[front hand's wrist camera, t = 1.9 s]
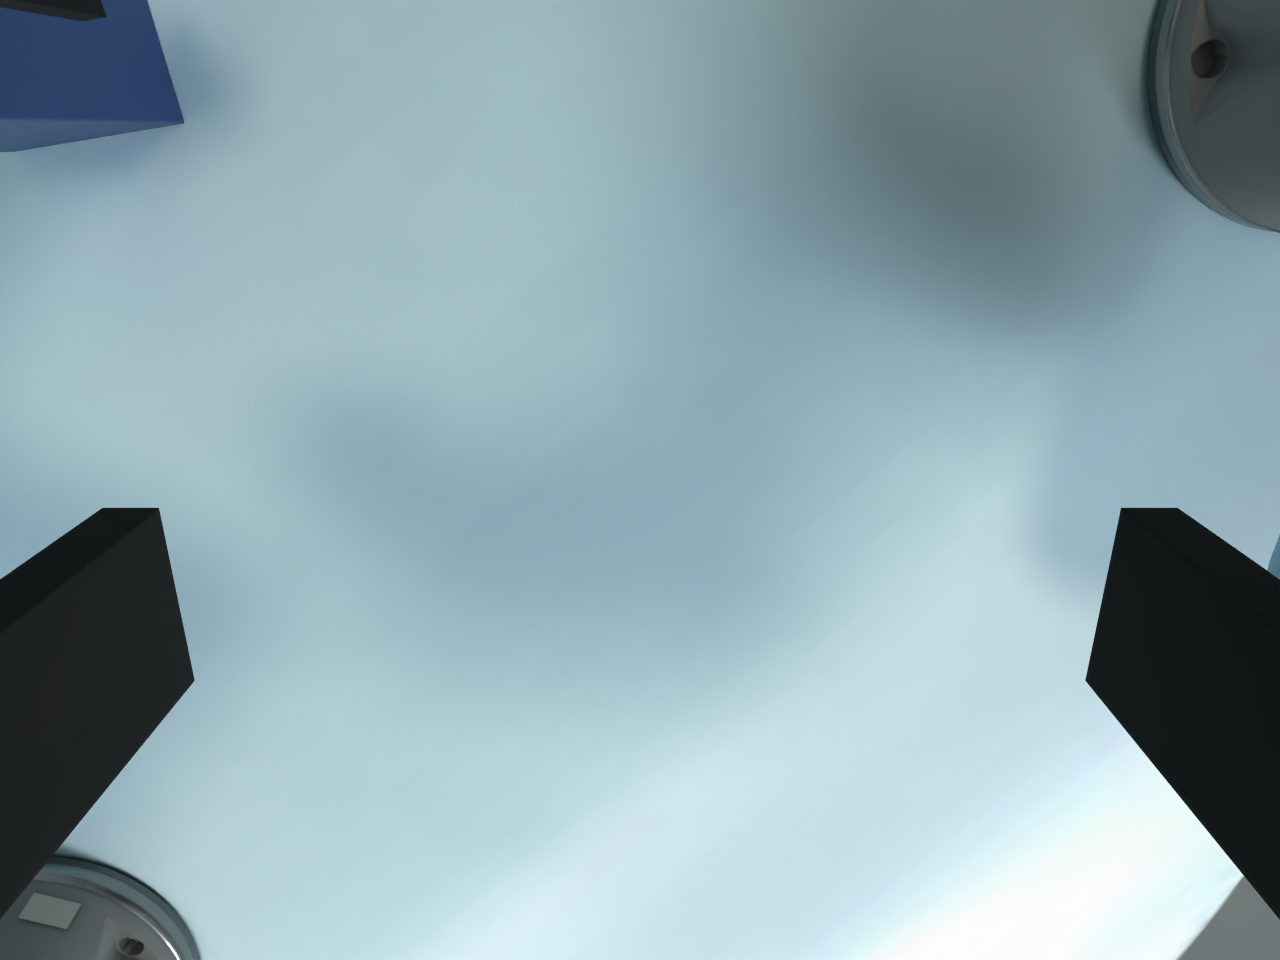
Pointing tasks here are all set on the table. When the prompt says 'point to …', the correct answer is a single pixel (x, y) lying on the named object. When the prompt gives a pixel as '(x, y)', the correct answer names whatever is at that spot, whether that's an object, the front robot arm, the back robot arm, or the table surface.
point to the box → (82, 77)
